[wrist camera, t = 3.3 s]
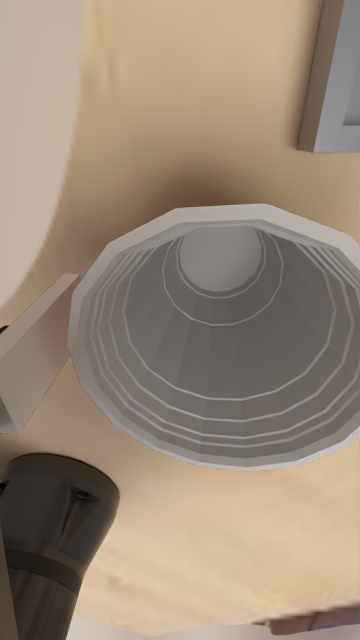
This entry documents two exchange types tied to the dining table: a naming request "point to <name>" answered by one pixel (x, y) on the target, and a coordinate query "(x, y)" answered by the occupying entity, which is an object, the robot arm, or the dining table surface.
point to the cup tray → (334, 82)
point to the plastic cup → (224, 336)
